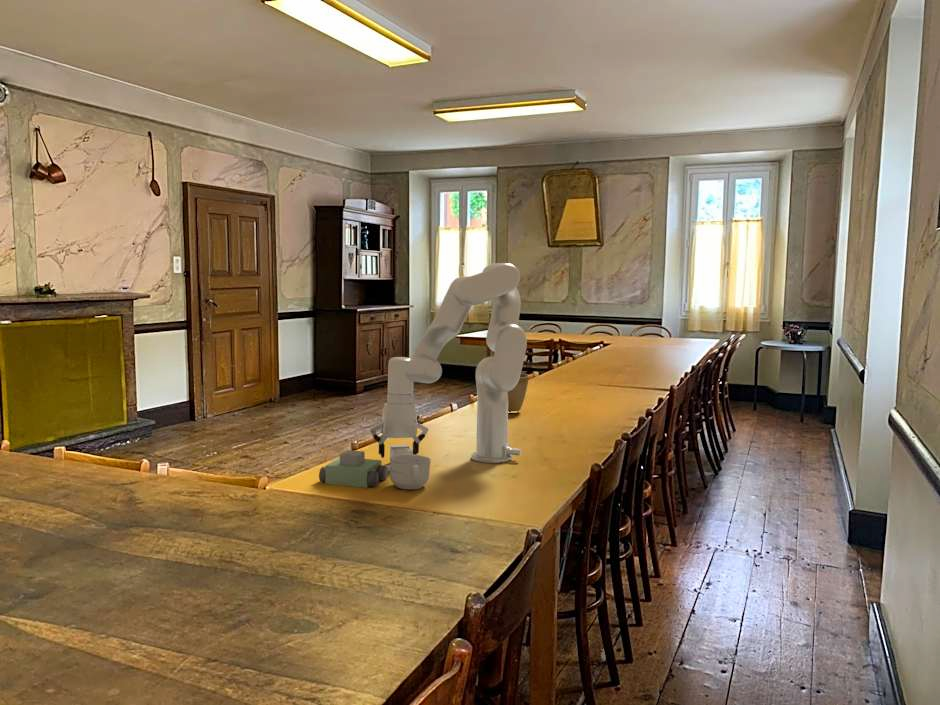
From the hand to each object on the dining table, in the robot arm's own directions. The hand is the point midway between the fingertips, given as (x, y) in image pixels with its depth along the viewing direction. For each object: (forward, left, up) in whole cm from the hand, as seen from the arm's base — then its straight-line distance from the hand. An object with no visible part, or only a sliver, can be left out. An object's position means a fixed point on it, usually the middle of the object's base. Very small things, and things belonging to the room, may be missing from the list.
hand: (398, 456), depth 213 cm
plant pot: (-14, -96, -3) cm, 97 cm away
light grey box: (-1, 0, -3) cm, 3 cm away
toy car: (+5, +15, -3) cm, 17 cm away
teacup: (-12, +22, -3) cm, 25 cm away
